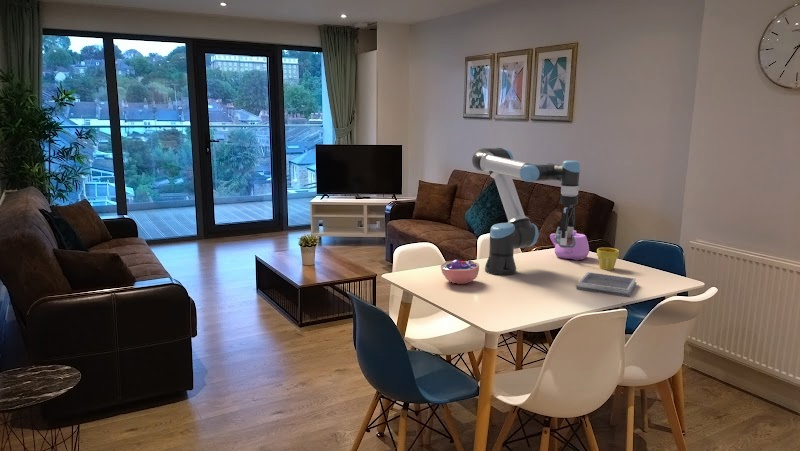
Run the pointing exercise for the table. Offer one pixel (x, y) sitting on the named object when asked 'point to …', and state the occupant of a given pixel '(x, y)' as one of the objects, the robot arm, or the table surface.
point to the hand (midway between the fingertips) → (566, 242)
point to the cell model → (460, 271)
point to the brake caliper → (570, 241)
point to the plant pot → (607, 257)
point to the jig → (607, 284)
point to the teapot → (574, 253)
